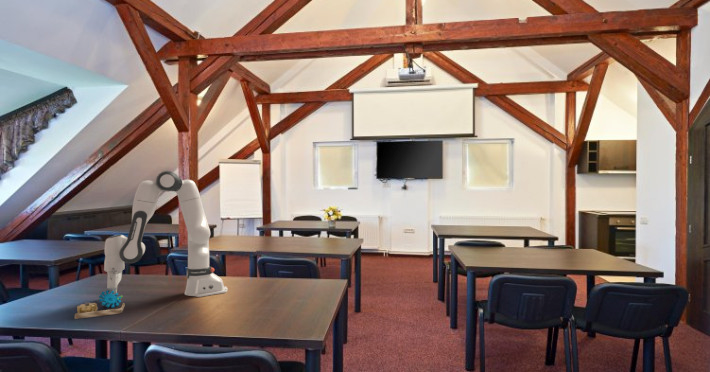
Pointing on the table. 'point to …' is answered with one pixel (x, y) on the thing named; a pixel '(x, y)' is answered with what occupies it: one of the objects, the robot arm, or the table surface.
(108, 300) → the gear
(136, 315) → the table surface
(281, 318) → the table surface
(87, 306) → the gear
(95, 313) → the gear bench
